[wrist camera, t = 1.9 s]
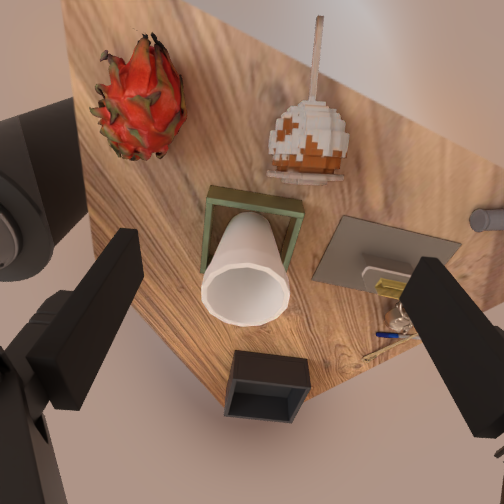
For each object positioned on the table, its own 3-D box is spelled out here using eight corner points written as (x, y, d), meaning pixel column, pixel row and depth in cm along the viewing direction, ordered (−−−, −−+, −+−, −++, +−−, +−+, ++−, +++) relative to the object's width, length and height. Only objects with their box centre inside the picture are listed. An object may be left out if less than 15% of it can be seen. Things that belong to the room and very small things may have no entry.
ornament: (410, 317, 53) (421, 336, 50) (374, 321, 52) (383, 340, 50) (432, 291, 47) (445, 311, 45) (392, 295, 46) (403, 316, 44)
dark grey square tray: (226, 388, 67) (223, 416, 62) (235, 350, 58) (232, 378, 54) (289, 395, 68) (291, 423, 63) (307, 359, 60) (311, 387, 55)
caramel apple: (263, 179, 35) (272, 30, 31) (327, 182, 36) (345, 37, 31) (272, 184, 28) (286, -11, 23) (353, 188, 28) (381, -1, 24)
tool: (426, 333, 51) (418, 328, 51) (427, 336, 51) (419, 332, 50) (367, 360, 60) (359, 356, 59) (367, 363, 59) (360, 360, 59)
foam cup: (202, 231, 42) (183, 296, 32) (246, 187, 38) (241, 246, 28) (251, 267, 46) (248, 337, 35) (296, 231, 42) (308, 297, 31)
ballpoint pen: (375, 330, 54) (373, 333, 55) (377, 334, 53) (375, 337, 54) (432, 336, 54) (429, 339, 55) (434, 340, 54) (432, 343, 54)
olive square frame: (203, 258, 45) (199, 273, 42) (210, 185, 38) (206, 197, 35) (281, 269, 46) (282, 285, 43) (301, 200, 39) (305, 213, 36)
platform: (414, 301, 49) (433, 334, 44) (311, 280, 47) (317, 311, 42) (461, 244, 42) (490, 274, 37) (343, 215, 40) (356, 243, 35)
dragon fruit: (138, 148, 37) (166, 41, 32) (185, 181, 34) (223, 69, 29) (68, 139, 30) (88, -1, 25) (119, 180, 27) (155, 31, 22)
